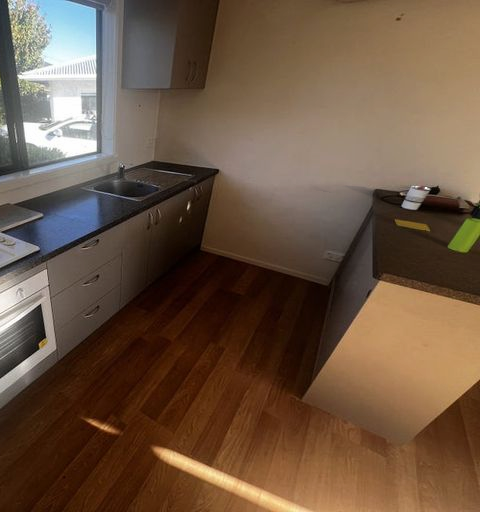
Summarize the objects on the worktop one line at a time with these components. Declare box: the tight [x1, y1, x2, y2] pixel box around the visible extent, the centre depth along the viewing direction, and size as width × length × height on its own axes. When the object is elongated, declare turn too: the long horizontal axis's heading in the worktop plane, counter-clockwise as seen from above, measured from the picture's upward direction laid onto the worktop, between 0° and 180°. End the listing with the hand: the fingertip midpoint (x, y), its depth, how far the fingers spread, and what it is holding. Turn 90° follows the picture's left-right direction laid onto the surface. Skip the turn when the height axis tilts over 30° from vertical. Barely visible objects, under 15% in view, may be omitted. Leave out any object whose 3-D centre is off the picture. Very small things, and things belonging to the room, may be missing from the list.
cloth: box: [394, 219, 431, 232], centre depth 147 cm, size 12×10×1 cm
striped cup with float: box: [400, 185, 432, 211], centre depth 166 cm, size 10×8×12 cm
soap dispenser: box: [447, 202, 480, 253], centre depth 119 cm, size 6×7×20 cm
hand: (476, 216), depth 117 cm, fingers closed on soap dispenser, 3 cm apart
